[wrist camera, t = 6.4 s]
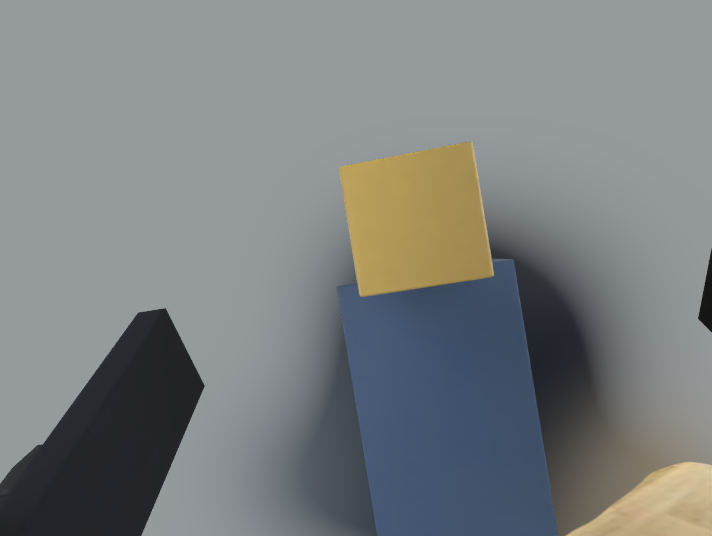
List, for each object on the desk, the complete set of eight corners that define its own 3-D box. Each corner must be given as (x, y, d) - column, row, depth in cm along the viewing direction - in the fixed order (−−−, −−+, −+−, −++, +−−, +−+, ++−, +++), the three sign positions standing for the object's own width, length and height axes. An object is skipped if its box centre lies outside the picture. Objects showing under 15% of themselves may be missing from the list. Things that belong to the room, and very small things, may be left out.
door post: (623, 934, 21) (508, 225, 21) (440, 929, 22) (331, 254, 22) (549, 688, 33) (475, 237, 33) (433, 692, 34) (362, 256, 34)
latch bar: (495, 276, 10) (472, 140, 10) (359, 297, 11) (338, 166, 11) (441, 264, 36) (435, 225, 36) (402, 270, 36) (395, 232, 36)
